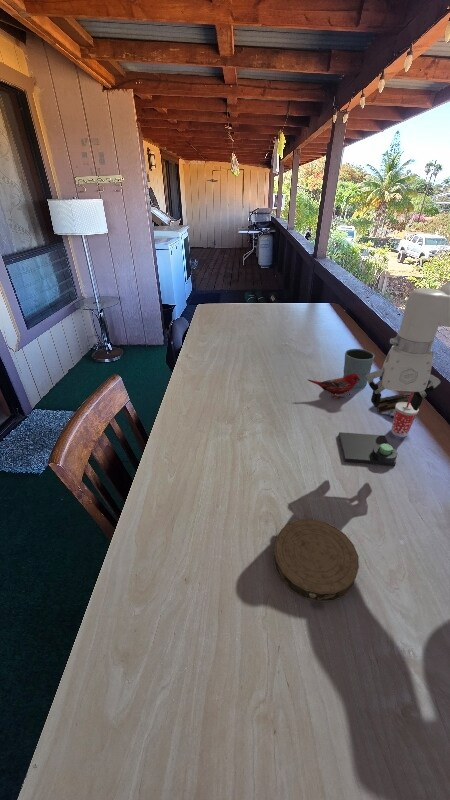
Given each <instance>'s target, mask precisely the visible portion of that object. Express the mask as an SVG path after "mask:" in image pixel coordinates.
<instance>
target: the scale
mask: <svg viewBox="0 0 450 800" xmlns="http://www.w3.org/2000/svg"><path fill="white" fill-rule="evenodd" d="M337 436H338V440H339V444H340V449H341V453H342V458H343V461H344V463H349V464H362V465H373V466H383V467H385V466H386V467H396V464H397V461H396V460H397V458H398V452H397V449H395V448H394V447H393V446H392V448H393V449H392V452H391V455H383V454H381V453H380V452H379V449H380V445H381V444H389V442H388V440H387V438H386V435H383V434H370V433H354V432H342V431H341V432H340V431H339V432H338V435H337Z"/></svg>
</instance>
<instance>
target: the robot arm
mask: <svg viewBox="0 0 450 800" xmlns="http://www.w3.org/2000/svg"><path fill="white" fill-rule="evenodd" d="M439 327H445V328H446V327H447V328H450V281H447V282H446V283H445V284H444V285H442V286H441V287H440V288H438V289H435V288H428V287H419V288H414V289H413V290H412V291H410V293H409V295H408V297H407V301H406V304H405V308H404V311H403V315H402V318H401V322H400V326H399V329H398V333H397V334H396V336H395V337H391V338H390V339H389V345H392V346H391V347H390V349H389V351H388V353H387V355H386V357H385V359H384V361H383V364H382V367H381V369H377V370H374V371H370V373H369V374H367V375H366V378H367V385H368V386H369V387H370V388H371V390H372V394H371V397H370V402H371V403H372V405H373V407H374V408H377V409H378V405H379V402H380V398H382V394H381V393H382V392H384V390H387V391H395V392H396V391H398V392H413V394H412V396H413V398H412V401H411V406H412V408H413V409H414V410H416V411H417V410H418V409H419V407H421V405H422V402H423V399H424V398H425V397H427V395H428V394H430V393H431V392H433V391H434V390H435V388H437V387H438V386H439V385H440V384H441V382H442V381H441V380H440V379H439V377H436V376H435V375H433V374H432V373H431V372H432V367H433V360H434V351H432V350H431V349H432V346H433V343H434V341H435V338H436V335H437V332H438V328H439ZM378 378H379V380H378V381H377V382H376V383H375V382H374V379H378Z"/></svg>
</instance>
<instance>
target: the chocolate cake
mask: <svg viewBox="0 0 450 800" xmlns="http://www.w3.org/2000/svg"><path fill="white" fill-rule="evenodd" d="M410 393H411V392H410V391H408V392H404V393H399V394H394V395H390V396H385V397H381V398H380V402H379V405H378V407H377V410H378V413H379V414H381V415H389V417H391V418H392V419H394V415H395V410H396V409H395V407H396V404H397V403H399V402H407V403H408V400H409V397H410ZM412 398H413V395H412V396H411V400H410V403H411V401H412Z"/></svg>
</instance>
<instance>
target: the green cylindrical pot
mask: <svg viewBox="0 0 450 800" xmlns="http://www.w3.org/2000/svg"><path fill="white" fill-rule="evenodd" d="M375 356H376V355H375V353H373V352H372V351H370V350H367V349H364V348H363V349H362V348H350V349H347V350H346V351H345V352H344V362H343V364H344V365H343V376H342V378H343V377H345V376H347V375H348V374H352V373H355V374H357V375H358V377H359V378H360V379H361V380H358V381H357V383H356V384H355V385H354V387H353V388H352V389H364V388H365V387H366V386H367V385H368V381H367V378H366V375H367V374H369V373H371V372H372V371H371V370H372V366H373V363H374V360H375Z"/></svg>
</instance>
